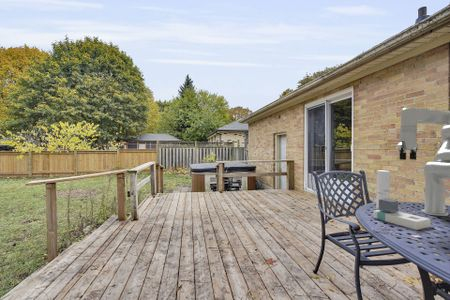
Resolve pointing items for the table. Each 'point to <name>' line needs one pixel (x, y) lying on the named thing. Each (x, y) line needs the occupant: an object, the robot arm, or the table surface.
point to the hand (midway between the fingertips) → (407, 159)
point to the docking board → (403, 219)
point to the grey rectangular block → (388, 205)
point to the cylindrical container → (382, 186)
